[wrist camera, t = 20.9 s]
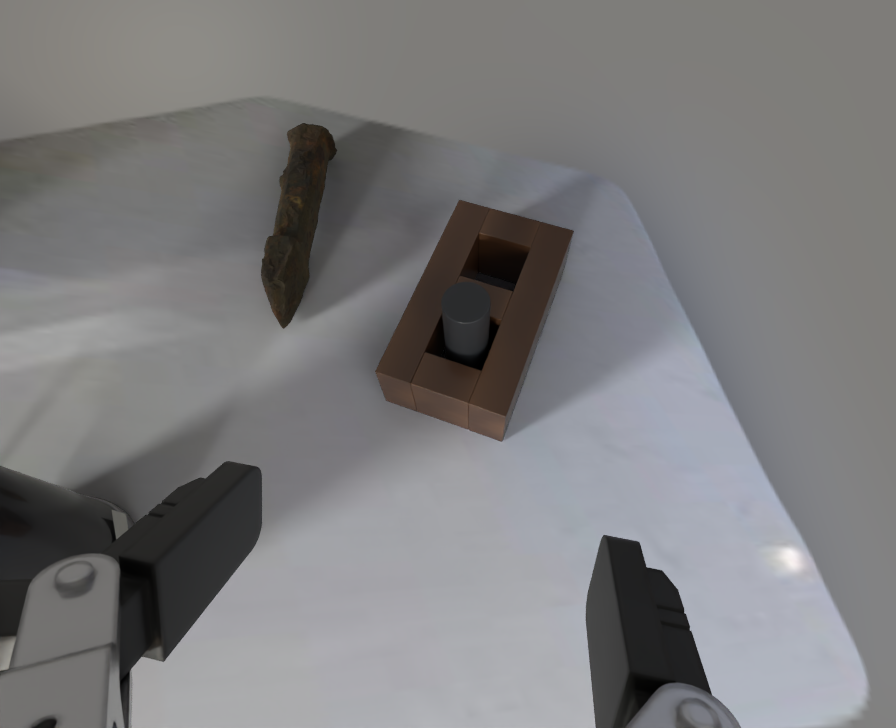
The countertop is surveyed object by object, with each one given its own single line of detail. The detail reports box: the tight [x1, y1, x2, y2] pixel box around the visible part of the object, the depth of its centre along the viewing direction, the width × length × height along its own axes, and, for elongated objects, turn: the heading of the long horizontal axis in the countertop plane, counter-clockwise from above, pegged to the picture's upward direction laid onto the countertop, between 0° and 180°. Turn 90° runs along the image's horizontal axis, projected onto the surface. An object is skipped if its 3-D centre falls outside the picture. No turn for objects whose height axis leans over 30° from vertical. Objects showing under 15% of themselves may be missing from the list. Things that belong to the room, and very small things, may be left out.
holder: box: [375, 200, 574, 441], centre depth 40 cm, size 9×16×5 cm, turn 159°
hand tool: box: [261, 123, 337, 328], centre depth 45 cm, size 19×4×5 cm, turn 176°
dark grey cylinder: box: [441, 282, 491, 371], centre depth 37 cm, size 3×3×9 cm
